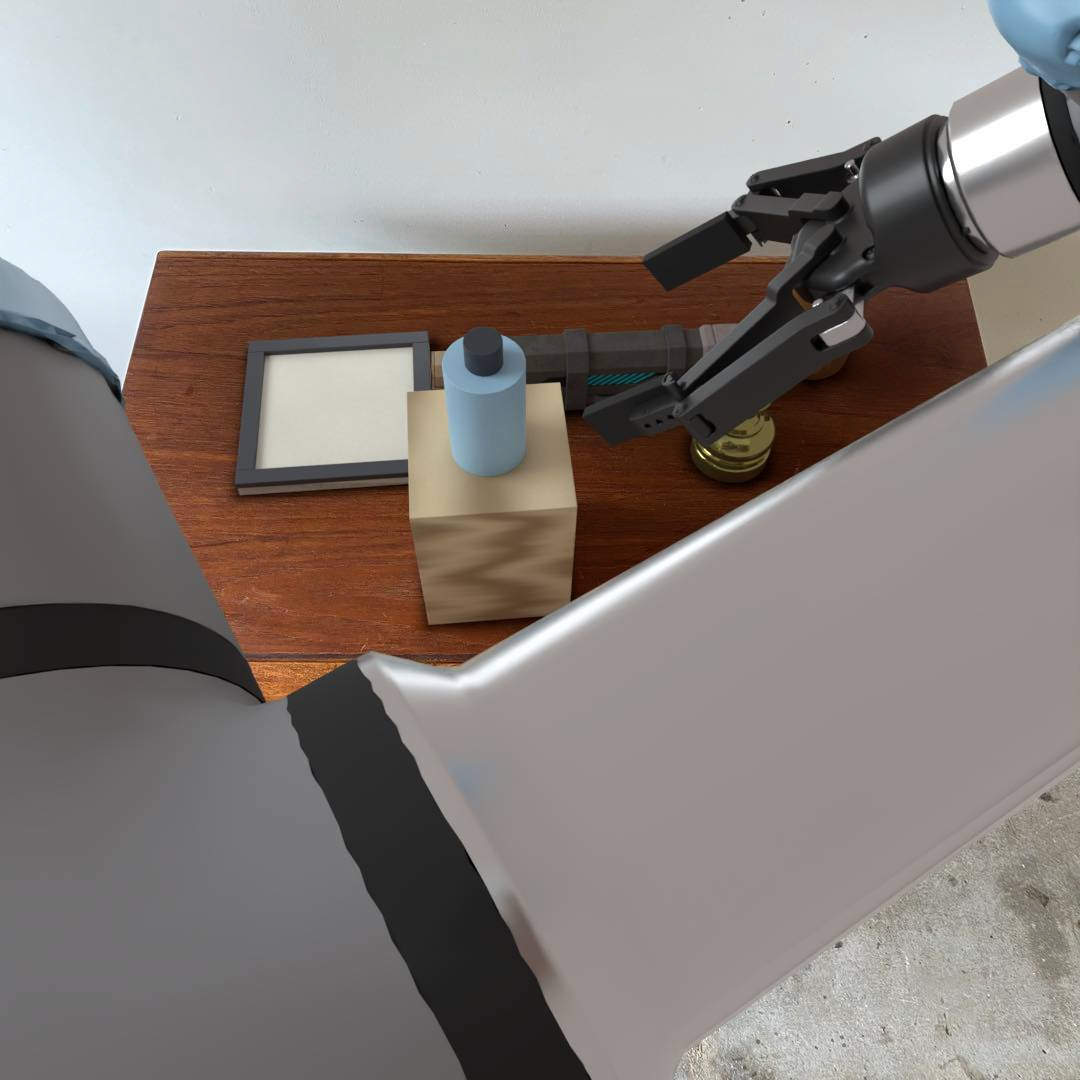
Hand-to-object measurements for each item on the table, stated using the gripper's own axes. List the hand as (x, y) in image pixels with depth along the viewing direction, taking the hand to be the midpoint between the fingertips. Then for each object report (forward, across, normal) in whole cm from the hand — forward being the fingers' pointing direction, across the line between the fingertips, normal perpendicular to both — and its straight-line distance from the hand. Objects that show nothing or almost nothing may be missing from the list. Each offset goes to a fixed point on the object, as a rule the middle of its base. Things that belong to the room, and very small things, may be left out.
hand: (628, 346), depth 59 cm
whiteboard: (+42, +11, 0) cm, 43 cm away
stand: (+28, 0, -14) cm, 31 cm away
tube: (+26, +20, -16) cm, 37 cm away
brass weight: (+16, +18, -26) cm, 36 cm away
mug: (+12, +31, -30) cm, 45 cm away
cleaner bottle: (+16, 0, -3) cm, 17 cm away
